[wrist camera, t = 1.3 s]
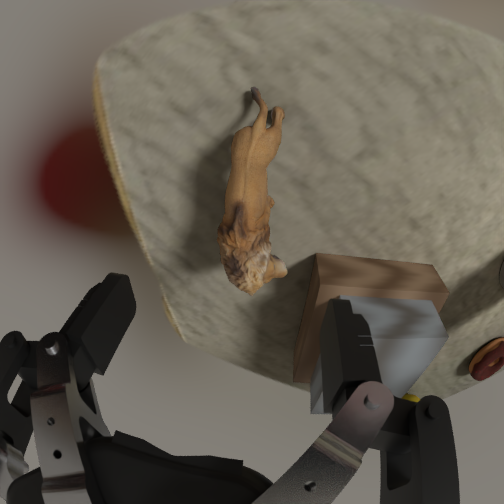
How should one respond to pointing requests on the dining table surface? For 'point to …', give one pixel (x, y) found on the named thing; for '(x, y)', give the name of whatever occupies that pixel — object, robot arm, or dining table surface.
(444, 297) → the two-tone block
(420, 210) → the dining table surface
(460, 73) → the dining table surface
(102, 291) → the robot arm
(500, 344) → the donut
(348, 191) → the dining table surface
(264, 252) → the lion figurine
